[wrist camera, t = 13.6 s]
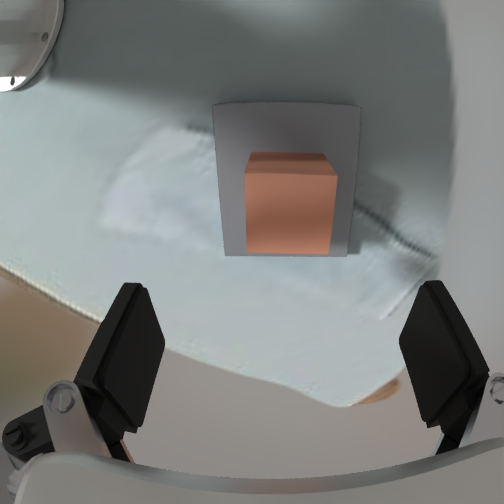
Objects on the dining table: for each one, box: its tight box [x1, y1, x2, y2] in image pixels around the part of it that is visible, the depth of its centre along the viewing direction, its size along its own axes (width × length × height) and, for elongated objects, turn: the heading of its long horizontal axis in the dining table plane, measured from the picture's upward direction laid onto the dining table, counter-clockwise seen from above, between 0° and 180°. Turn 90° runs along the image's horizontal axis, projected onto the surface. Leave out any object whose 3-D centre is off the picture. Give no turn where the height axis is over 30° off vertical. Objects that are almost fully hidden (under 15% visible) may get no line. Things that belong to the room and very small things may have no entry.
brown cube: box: [244, 152, 337, 254], centre depth 19 cm, size 5×5×5 cm
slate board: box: [212, 102, 361, 257], centre depth 22 cm, size 12×10×2 cm
